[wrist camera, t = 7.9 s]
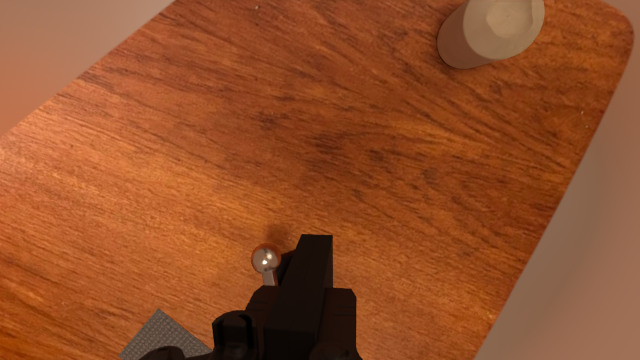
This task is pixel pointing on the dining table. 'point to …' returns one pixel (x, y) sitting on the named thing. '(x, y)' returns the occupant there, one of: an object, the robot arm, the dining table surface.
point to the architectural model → (162, 338)
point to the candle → (489, 31)
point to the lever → (267, 262)
